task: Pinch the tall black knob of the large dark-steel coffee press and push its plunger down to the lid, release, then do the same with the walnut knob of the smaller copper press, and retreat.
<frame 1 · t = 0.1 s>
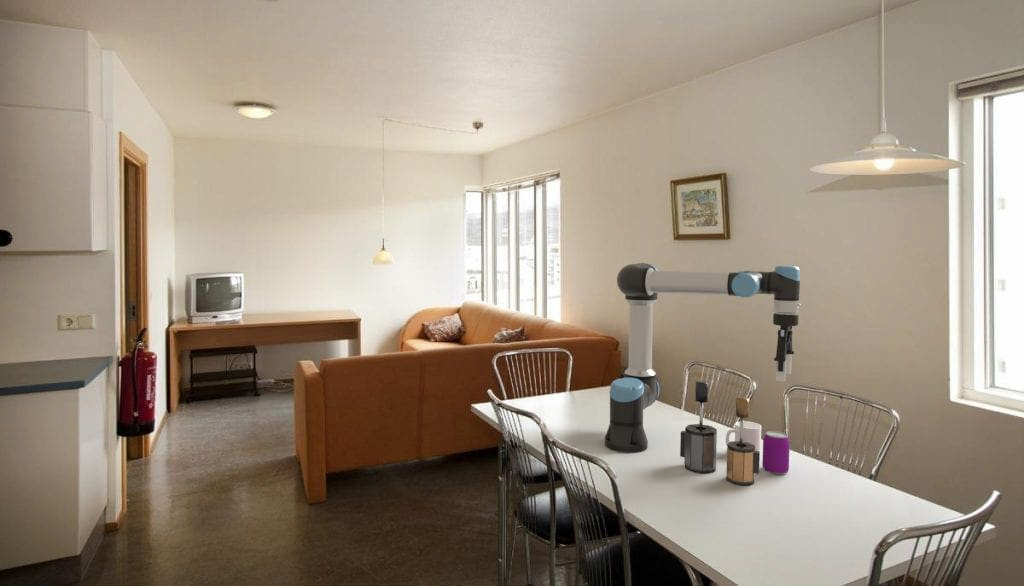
hand: (783, 377, 196), 28 cm above the table, fingers open, 13 cm apart
plunger a: (701, 410, 190), point 19 cm above the table, slide at 0.0 cm
beverage can: (775, 471, 189), on the table
plunger b: (741, 427, 180), point 17 cm above the table, slide at 0.0 cm
carafe b: (740, 480, 181), on the table
carafe a: (699, 468, 191), on the table
cup: (742, 454, 204), on the table
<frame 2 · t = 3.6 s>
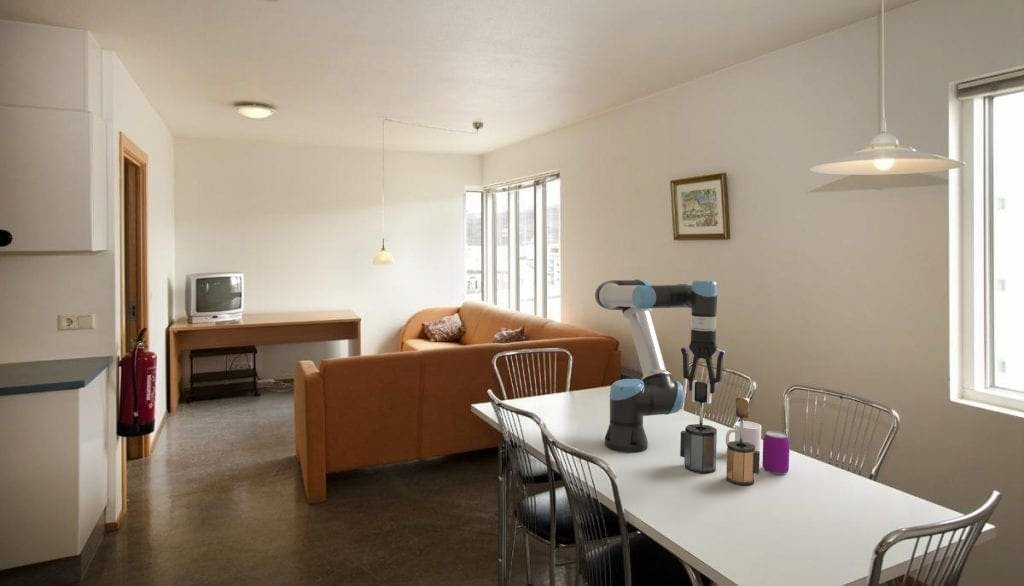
hand: (701, 401, 190), 22 cm above the table, fingers closed on plunger a, 4 cm apart
plunger a: (701, 410, 190), point 19 cm above the table, slide at 0.0 cm, touching gripper
everything else where it was.
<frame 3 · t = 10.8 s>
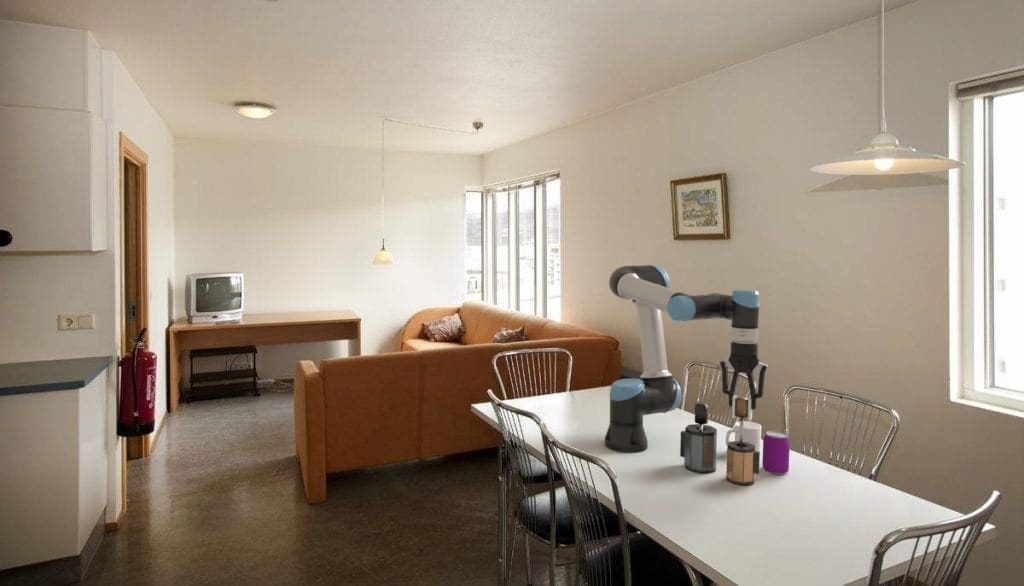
hand: (741, 418, 180), 19 cm above the table, fingers closed on plunger b, 4 cm apart
plunger a: (700, 432, 190), point 12 cm above the table, slide at 7.0 cm
plunger b: (741, 427, 180), point 17 cm above the table, slide at 0.0 cm, touching gripper
everything else where it was.
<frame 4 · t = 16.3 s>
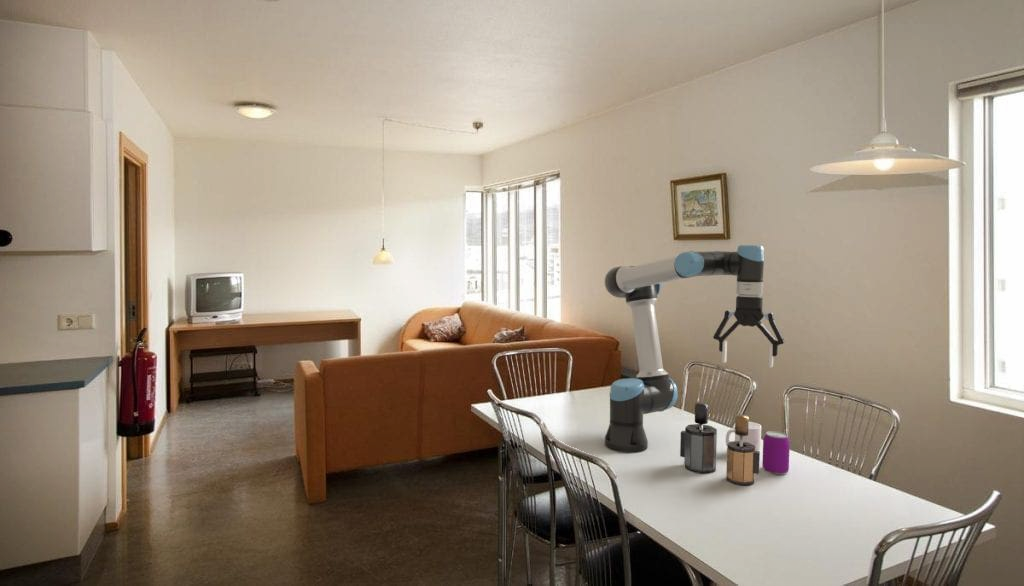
hand: (747, 364, 183), 35 cm above the table, fingers open, 13 cm apart
plunger b: (741, 444, 180), point 11 cm above the table, slide at 5.5 cm
everything else where it was.
at the end: plunger a slide at 7.0 cm; plunger b slide at 5.5 cm; the gripper is holding nothing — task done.
